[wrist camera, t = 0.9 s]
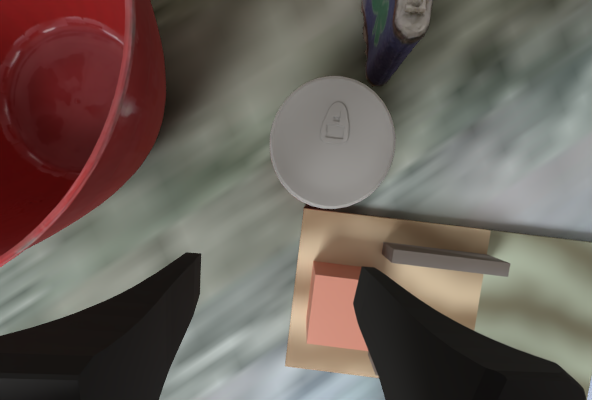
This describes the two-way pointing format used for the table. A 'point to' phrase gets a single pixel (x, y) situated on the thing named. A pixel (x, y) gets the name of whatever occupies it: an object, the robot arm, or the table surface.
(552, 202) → the table surface
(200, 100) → the table surface
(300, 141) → the canned food
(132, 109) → the mixing bowl
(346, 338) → the block
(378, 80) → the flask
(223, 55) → the table surface
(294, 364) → the lane board
